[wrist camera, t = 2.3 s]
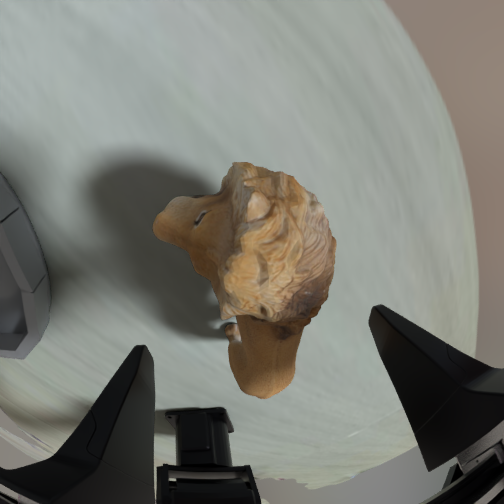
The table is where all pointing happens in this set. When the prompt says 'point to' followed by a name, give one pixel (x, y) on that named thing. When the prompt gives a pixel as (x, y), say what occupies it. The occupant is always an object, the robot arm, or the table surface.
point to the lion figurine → (257, 266)
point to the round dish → (20, 279)
